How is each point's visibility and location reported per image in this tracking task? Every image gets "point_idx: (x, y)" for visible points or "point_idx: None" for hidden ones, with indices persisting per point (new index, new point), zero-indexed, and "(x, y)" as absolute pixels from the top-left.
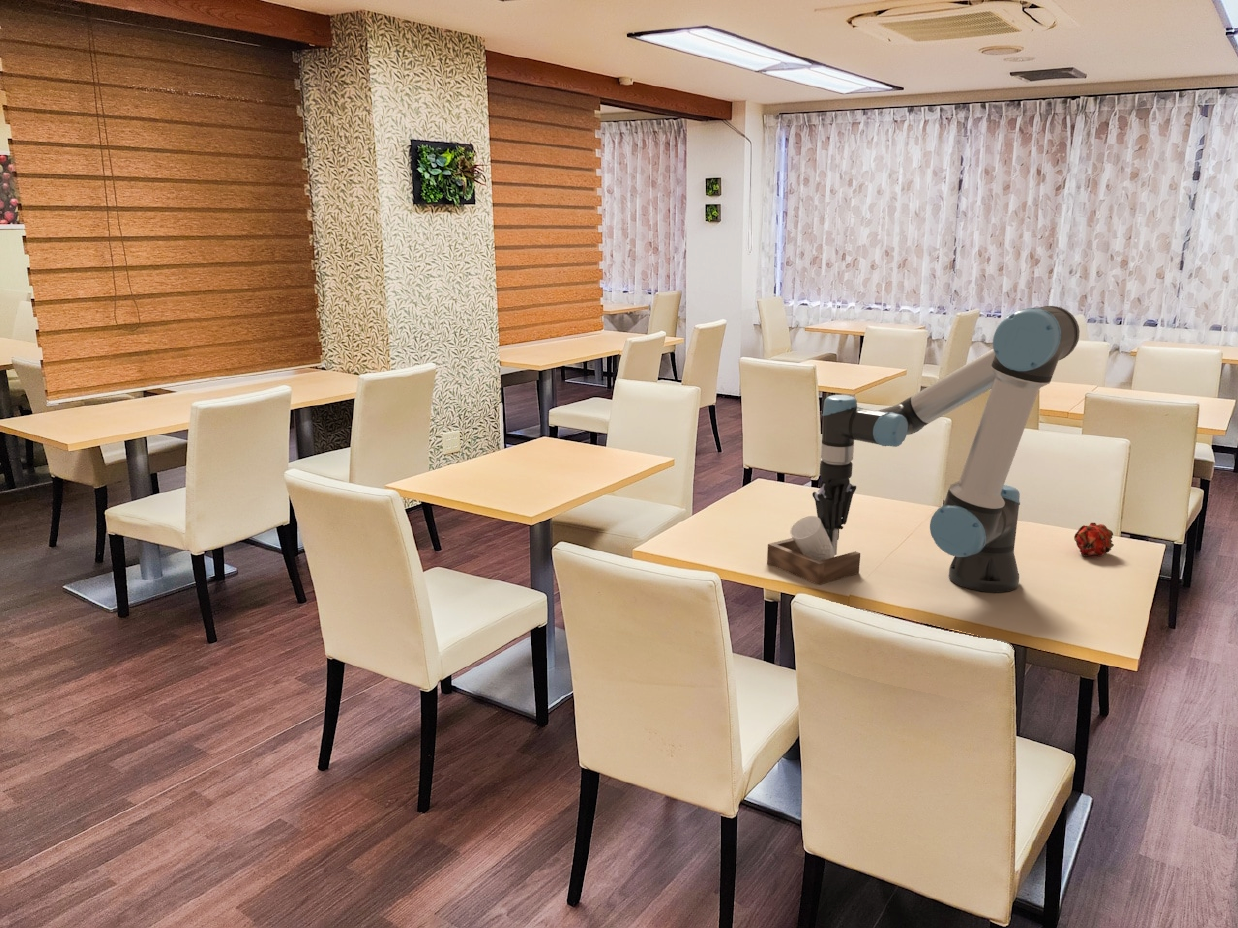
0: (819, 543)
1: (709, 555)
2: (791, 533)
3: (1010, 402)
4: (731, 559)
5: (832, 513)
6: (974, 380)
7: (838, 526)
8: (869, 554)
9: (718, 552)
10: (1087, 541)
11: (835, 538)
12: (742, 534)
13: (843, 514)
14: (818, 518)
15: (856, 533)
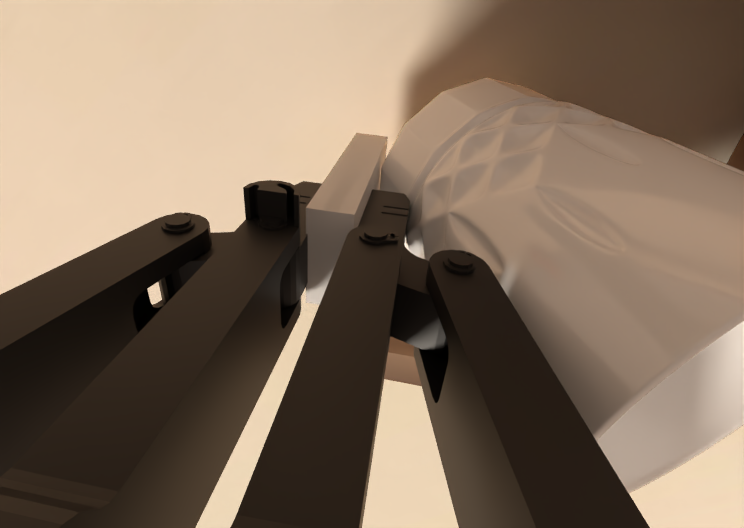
0: (702, 155)
1: (706, 519)
2: (731, 422)
3: None
4: (703, 459)
5: (367, 370)
6: None
7: (288, 225)
8: (99, 69)
9: (645, 511)
10: None
11: (354, 179)
12: (397, 518)
13: (135, 294)
14: (618, 415)
15: (5, 286)
